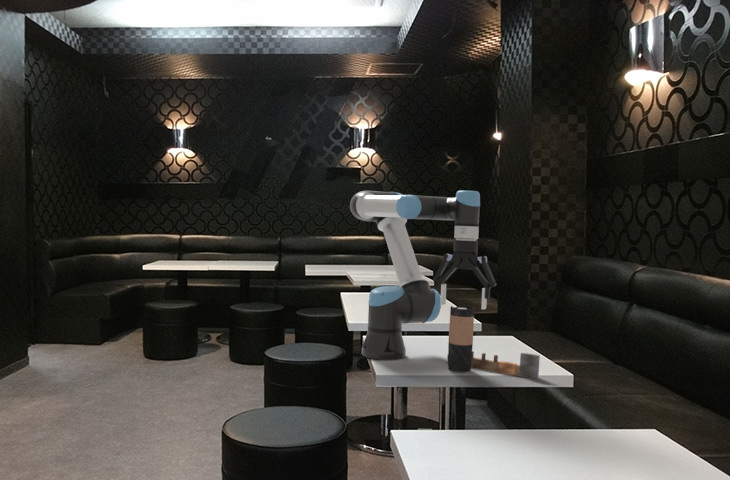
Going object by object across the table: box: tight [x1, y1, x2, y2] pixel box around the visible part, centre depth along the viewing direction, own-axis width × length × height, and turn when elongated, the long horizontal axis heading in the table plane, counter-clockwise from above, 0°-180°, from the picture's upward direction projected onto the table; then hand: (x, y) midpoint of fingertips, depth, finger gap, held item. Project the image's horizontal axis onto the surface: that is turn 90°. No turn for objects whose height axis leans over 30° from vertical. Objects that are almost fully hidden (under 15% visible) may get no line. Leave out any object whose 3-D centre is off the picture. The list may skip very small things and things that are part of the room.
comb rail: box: [446, 350, 541, 380], centre depth 193 cm, size 30×2×7 cm, turn 61°
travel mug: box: [447, 305, 475, 373], centre depth 191 cm, size 8×8×20 cm
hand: (463, 306), depth 191 cm, fingers open, 13 cm apart
